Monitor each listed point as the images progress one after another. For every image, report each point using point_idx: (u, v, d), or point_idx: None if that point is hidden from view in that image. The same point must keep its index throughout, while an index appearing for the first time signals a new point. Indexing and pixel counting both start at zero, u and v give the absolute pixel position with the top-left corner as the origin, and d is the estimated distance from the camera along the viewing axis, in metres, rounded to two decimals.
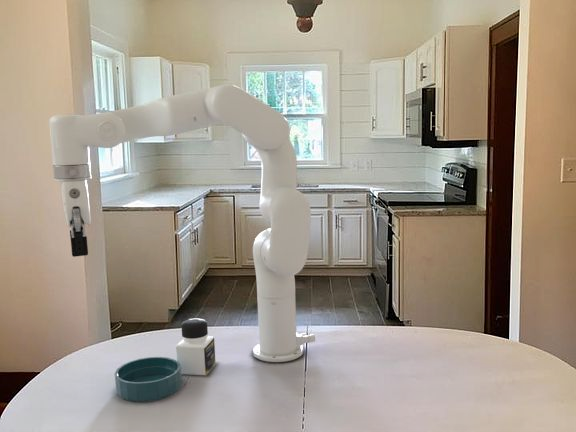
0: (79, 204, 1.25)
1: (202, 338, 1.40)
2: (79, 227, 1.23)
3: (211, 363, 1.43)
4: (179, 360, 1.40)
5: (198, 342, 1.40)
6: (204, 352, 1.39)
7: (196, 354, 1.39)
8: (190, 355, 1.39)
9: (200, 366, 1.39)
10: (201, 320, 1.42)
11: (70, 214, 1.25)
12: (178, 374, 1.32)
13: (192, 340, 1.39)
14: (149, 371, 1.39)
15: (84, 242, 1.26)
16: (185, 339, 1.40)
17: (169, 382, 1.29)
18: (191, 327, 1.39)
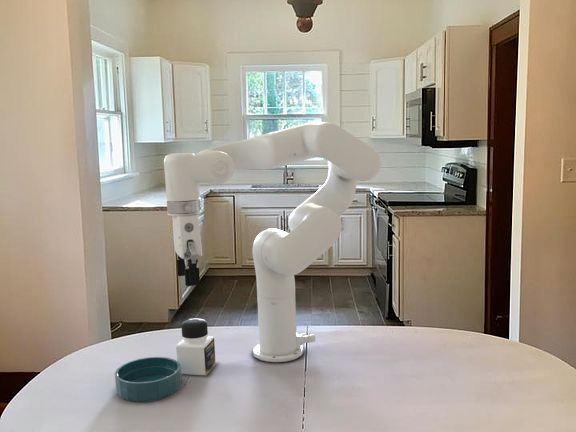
0: (193, 237, 1.34)
1: (202, 338, 1.40)
2: (195, 259, 1.32)
3: (211, 363, 1.43)
4: (179, 360, 1.40)
5: (198, 342, 1.40)
6: (204, 352, 1.39)
7: (196, 354, 1.39)
8: (190, 355, 1.39)
9: (200, 366, 1.39)
10: (201, 320, 1.42)
11: (185, 247, 1.33)
12: (178, 374, 1.32)
13: (192, 340, 1.39)
14: (149, 371, 1.39)
15: (197, 273, 1.35)
16: (185, 339, 1.40)
17: (169, 382, 1.29)
18: (191, 327, 1.39)
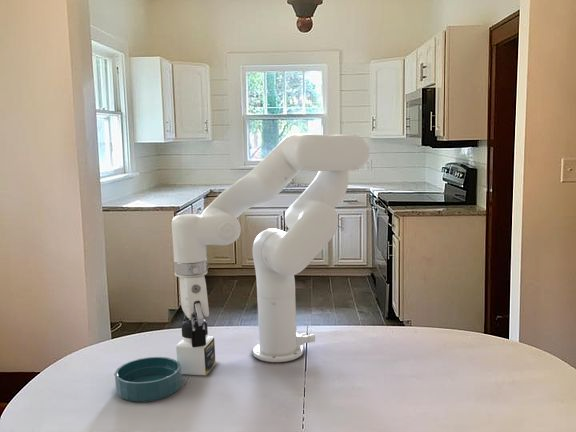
0: (200, 298, 1.36)
1: None
2: (201, 323, 1.35)
3: (211, 363, 1.43)
4: (179, 360, 1.40)
5: None
6: (204, 352, 1.39)
7: (197, 354, 1.39)
8: (190, 355, 1.39)
9: (200, 366, 1.39)
10: None
11: (192, 310, 1.36)
12: (178, 374, 1.32)
13: None
14: (149, 371, 1.39)
15: (203, 334, 1.38)
16: (185, 339, 1.40)
17: (169, 382, 1.29)
18: (191, 327, 1.39)
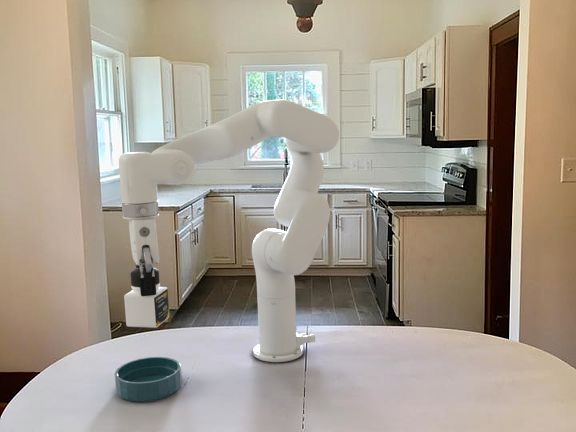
0: (149, 242, 1.25)
1: None
2: (150, 269, 1.23)
3: (164, 316, 1.32)
4: (127, 311, 1.29)
5: None
6: (154, 302, 1.27)
7: (146, 304, 1.28)
8: (139, 306, 1.28)
9: (150, 317, 1.28)
10: None
11: (140, 255, 1.25)
12: (178, 374, 1.32)
13: None
14: (149, 371, 1.39)
15: (153, 282, 1.27)
16: (134, 288, 1.29)
17: (169, 382, 1.29)
18: (140, 275, 1.28)
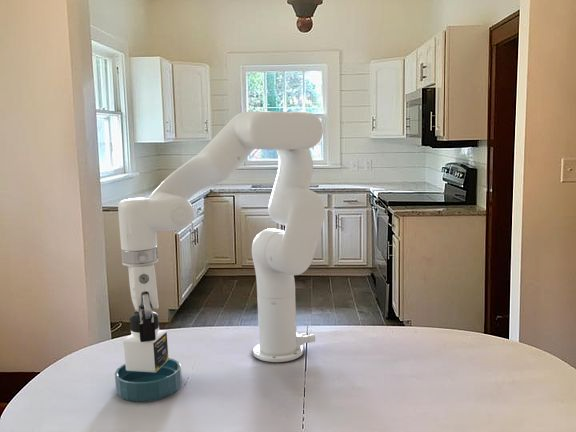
0: (148, 289, 1.26)
1: None
2: (149, 316, 1.24)
3: (163, 359, 1.32)
4: (127, 356, 1.30)
5: None
6: (153, 347, 1.28)
7: (145, 349, 1.28)
8: (138, 351, 1.29)
9: (150, 362, 1.29)
10: None
11: (139, 301, 1.25)
12: (178, 374, 1.32)
13: None
14: None
15: (152, 327, 1.28)
16: (133, 333, 1.29)
17: (169, 382, 1.29)
18: (139, 320, 1.28)
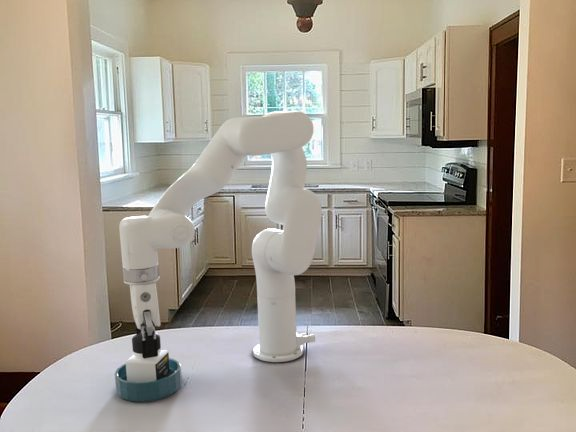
0: (150, 307, 1.26)
1: None
2: (151, 332, 1.24)
3: None
4: (129, 377, 1.30)
5: None
6: (155, 368, 1.29)
7: (147, 370, 1.29)
8: (141, 372, 1.30)
9: None
10: None
11: (141, 317, 1.26)
12: (178, 374, 1.32)
13: None
14: None
15: (154, 344, 1.28)
16: (135, 354, 1.30)
17: (169, 382, 1.29)
18: None
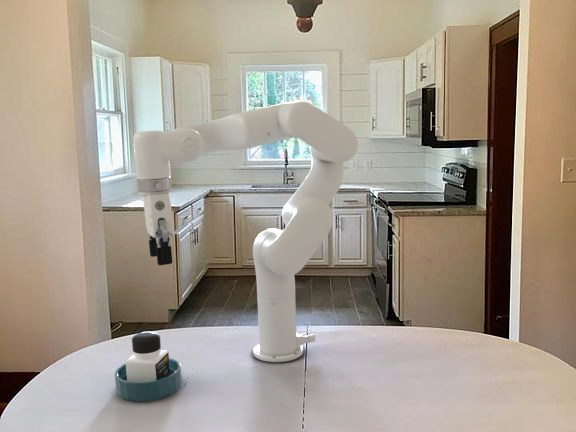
0: (164, 216, 1.32)
1: (154, 353, 1.30)
2: (166, 237, 1.30)
3: None
4: (129, 377, 1.30)
5: (149, 357, 1.30)
6: (155, 368, 1.29)
7: (147, 370, 1.29)
8: (141, 372, 1.30)
9: None
10: (153, 333, 1.32)
11: (156, 225, 1.32)
12: (178, 374, 1.32)
13: (142, 356, 1.30)
14: None
15: (169, 251, 1.34)
16: (135, 354, 1.30)
17: (169, 382, 1.29)
18: (141, 341, 1.29)
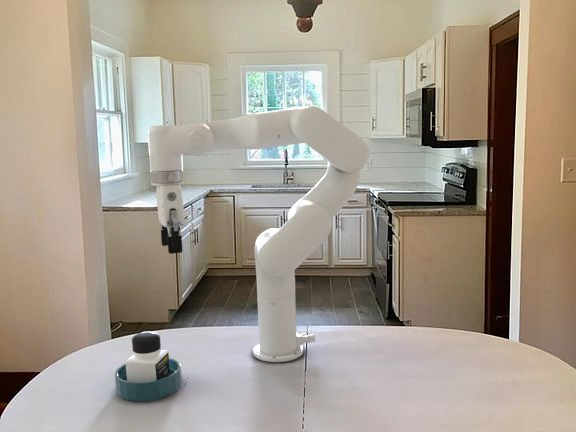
0: (175, 206, 1.38)
1: (154, 353, 1.30)
2: (177, 227, 1.36)
3: None
4: (129, 377, 1.30)
5: (149, 357, 1.30)
6: (155, 368, 1.29)
7: (147, 370, 1.29)
8: (141, 372, 1.30)
9: None
10: (153, 333, 1.32)
11: (168, 215, 1.38)
12: (178, 374, 1.32)
13: (142, 356, 1.30)
14: None
15: (179, 240, 1.40)
16: (135, 354, 1.30)
17: (169, 382, 1.29)
18: (141, 341, 1.29)
